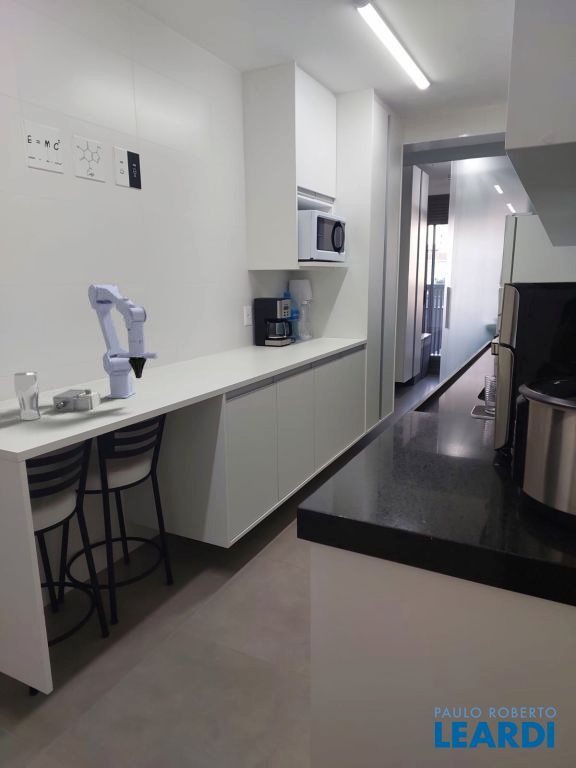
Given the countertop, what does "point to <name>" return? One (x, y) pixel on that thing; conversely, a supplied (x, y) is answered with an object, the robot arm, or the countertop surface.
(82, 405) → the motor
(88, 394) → the white block
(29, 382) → the beer glass
